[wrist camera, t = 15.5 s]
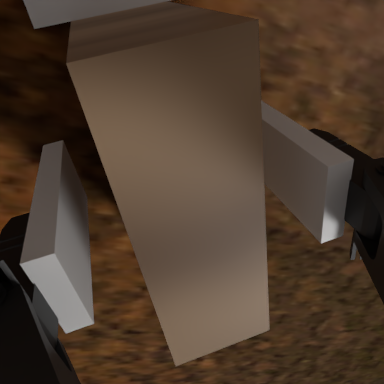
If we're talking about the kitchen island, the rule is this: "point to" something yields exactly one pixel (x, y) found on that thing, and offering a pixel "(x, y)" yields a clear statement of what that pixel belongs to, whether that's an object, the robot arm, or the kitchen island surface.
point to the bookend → (179, 155)
